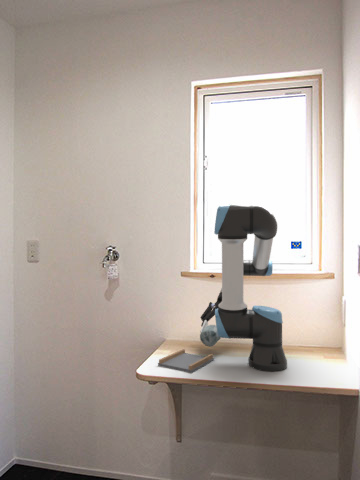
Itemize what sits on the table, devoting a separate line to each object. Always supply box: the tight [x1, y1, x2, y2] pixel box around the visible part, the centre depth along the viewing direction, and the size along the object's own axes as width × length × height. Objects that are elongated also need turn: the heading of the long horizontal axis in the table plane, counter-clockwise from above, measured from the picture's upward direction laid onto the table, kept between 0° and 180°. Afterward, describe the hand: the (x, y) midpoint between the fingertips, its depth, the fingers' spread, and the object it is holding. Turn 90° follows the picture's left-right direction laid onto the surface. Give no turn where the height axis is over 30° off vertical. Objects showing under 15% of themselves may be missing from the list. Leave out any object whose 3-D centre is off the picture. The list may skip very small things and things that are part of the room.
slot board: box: [157, 348, 215, 374], centre depth 156 cm, size 16×18×2 cm
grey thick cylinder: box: [199, 324, 222, 348], centre depth 170 cm, size 14×10×10 cm
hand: (211, 334), depth 171 cm, fingers closed on grey thick cylinder, 9 cm apart
